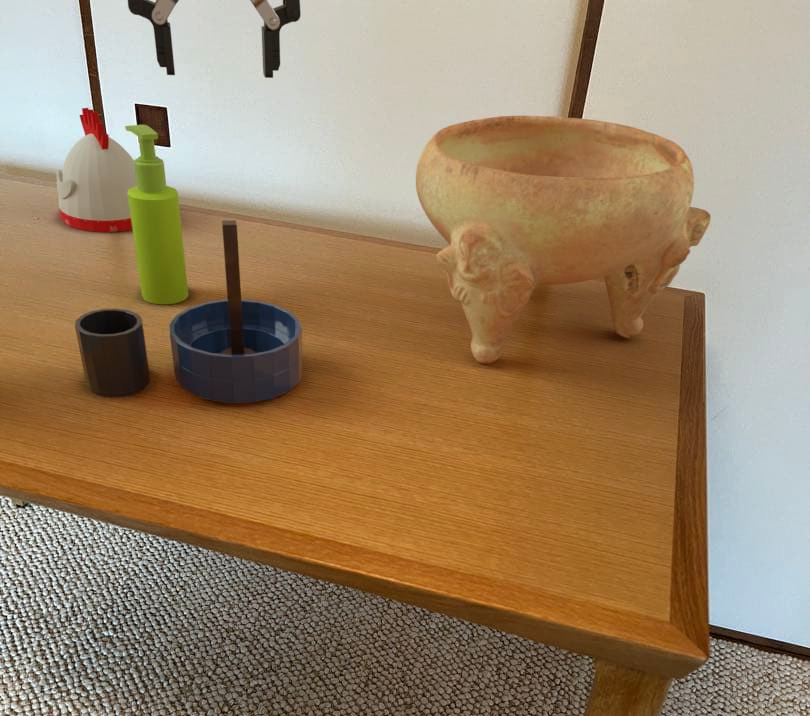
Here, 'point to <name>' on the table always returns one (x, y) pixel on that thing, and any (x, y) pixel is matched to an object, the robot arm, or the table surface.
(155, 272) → the soap dispenser
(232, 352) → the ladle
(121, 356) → the crock
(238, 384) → the mixing bowl
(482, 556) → the table surface
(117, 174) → the kitchen timer
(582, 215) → the decorative bowl
